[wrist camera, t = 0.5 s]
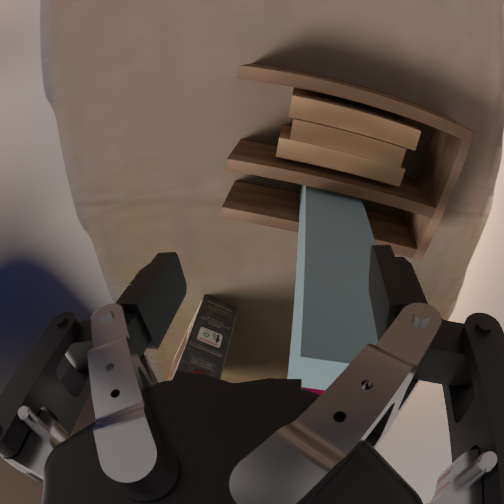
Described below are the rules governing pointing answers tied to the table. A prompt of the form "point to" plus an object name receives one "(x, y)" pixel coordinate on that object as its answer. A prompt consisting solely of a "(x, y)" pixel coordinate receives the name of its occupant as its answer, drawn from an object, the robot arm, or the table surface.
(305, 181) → the rack
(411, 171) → the table surface
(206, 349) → the cake mix box
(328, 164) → the offcuts
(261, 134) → the table surface
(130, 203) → the table surface
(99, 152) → the table surface
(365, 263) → the panel
